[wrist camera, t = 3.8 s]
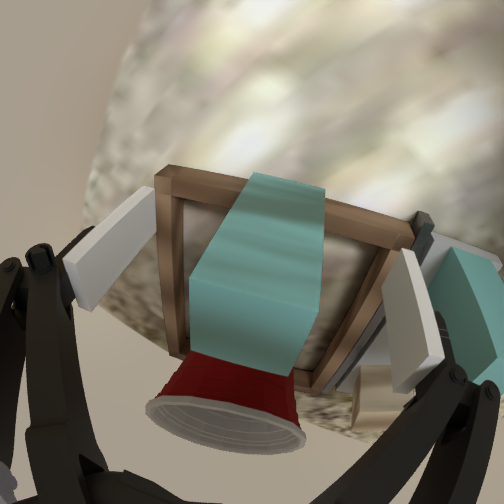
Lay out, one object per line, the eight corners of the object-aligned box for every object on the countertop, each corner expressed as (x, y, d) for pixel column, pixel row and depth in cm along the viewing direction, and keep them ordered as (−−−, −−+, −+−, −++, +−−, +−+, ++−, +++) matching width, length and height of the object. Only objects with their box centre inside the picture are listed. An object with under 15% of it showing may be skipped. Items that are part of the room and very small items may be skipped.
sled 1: (169, 145, 18) (48, 233, 9) (416, 204, 17) (474, 343, 8) (176, 341, 31) (136, 425, 23) (320, 379, 30) (306, 473, 21)
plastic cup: (277, 362, 30) (252, 468, 20) (185, 313, 28) (133, 419, 19) (348, 308, 23) (341, 449, 14) (234, 239, 22) (166, 381, 12)
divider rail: (418, 210, 17) (424, 221, 16) (428, 213, 17) (434, 225, 16) (322, 381, 30) (321, 392, 29) (328, 382, 30) (327, 394, 29)
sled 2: (429, 230, 17) (477, 355, 9) (497, 255, 17) (548, 362, 9) (335, 381, 29) (326, 467, 21) (390, 390, 29) (389, 470, 21)
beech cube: (360, 364, 25) (359, 411, 21) (410, 364, 24) (414, 410, 20) (353, 389, 28) (350, 431, 24) (397, 389, 27) (398, 430, 23)
